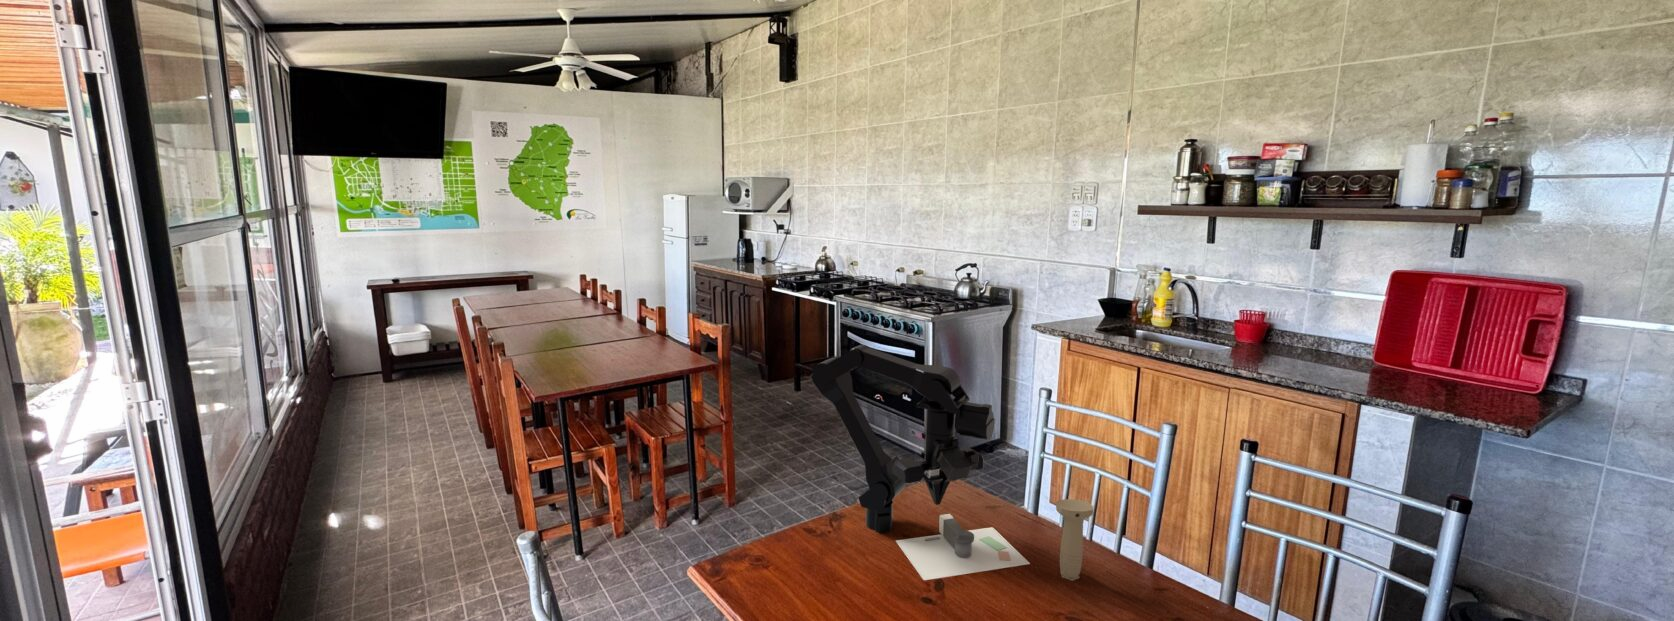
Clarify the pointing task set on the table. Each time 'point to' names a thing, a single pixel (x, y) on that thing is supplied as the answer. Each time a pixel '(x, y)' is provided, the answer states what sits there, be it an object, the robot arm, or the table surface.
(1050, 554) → the table surface
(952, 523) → the grey round-headed bar
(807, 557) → the table surface
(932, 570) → the board
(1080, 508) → the handle
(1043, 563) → the table surface
